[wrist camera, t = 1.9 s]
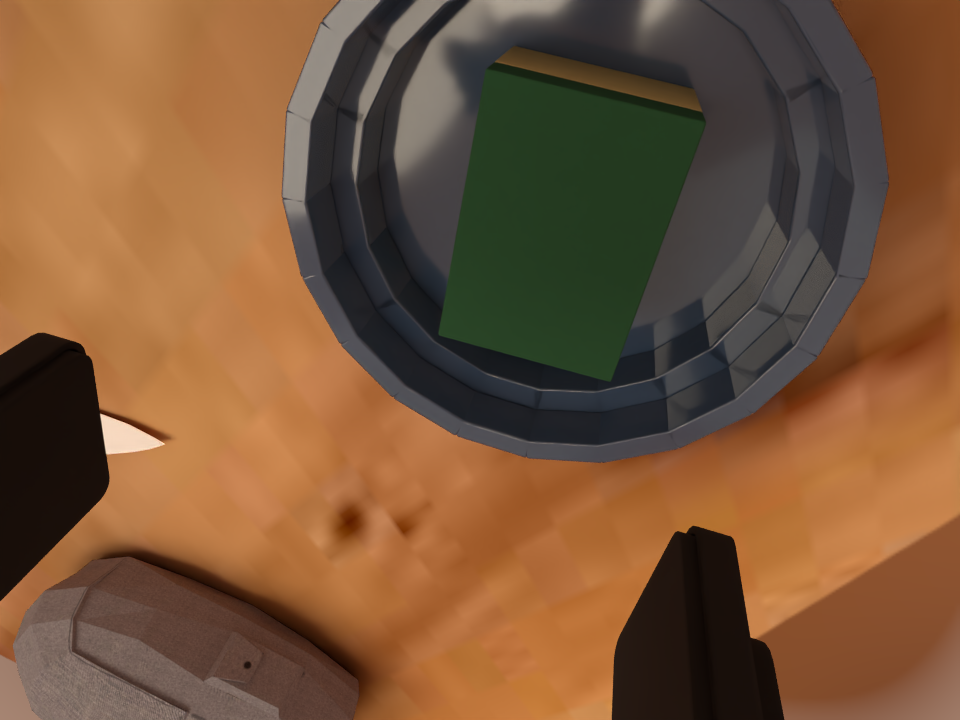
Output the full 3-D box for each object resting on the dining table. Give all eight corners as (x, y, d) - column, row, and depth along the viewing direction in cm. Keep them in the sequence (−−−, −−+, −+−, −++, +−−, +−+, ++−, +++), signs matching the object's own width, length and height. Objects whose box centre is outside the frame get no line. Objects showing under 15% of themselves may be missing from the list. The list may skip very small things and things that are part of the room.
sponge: (513, 45, 20) (485, 68, 17) (695, 89, 20) (707, 122, 16) (467, 277, 25) (437, 335, 21) (615, 316, 24) (610, 383, 21)
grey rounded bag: (396, 660, 40) (87, 497, 37) (344, 812, 33) (-39, 623, 30) (309, 752, 48) (51, 622, 46) (253, 889, 41) (-54, 745, 39)
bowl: (490, -254, 17) (448, -308, 13) (972, 114, 19) (1051, 155, 16) (275, 241, 26) (214, 291, 22) (619, 455, 28) (615, 533, 25)
